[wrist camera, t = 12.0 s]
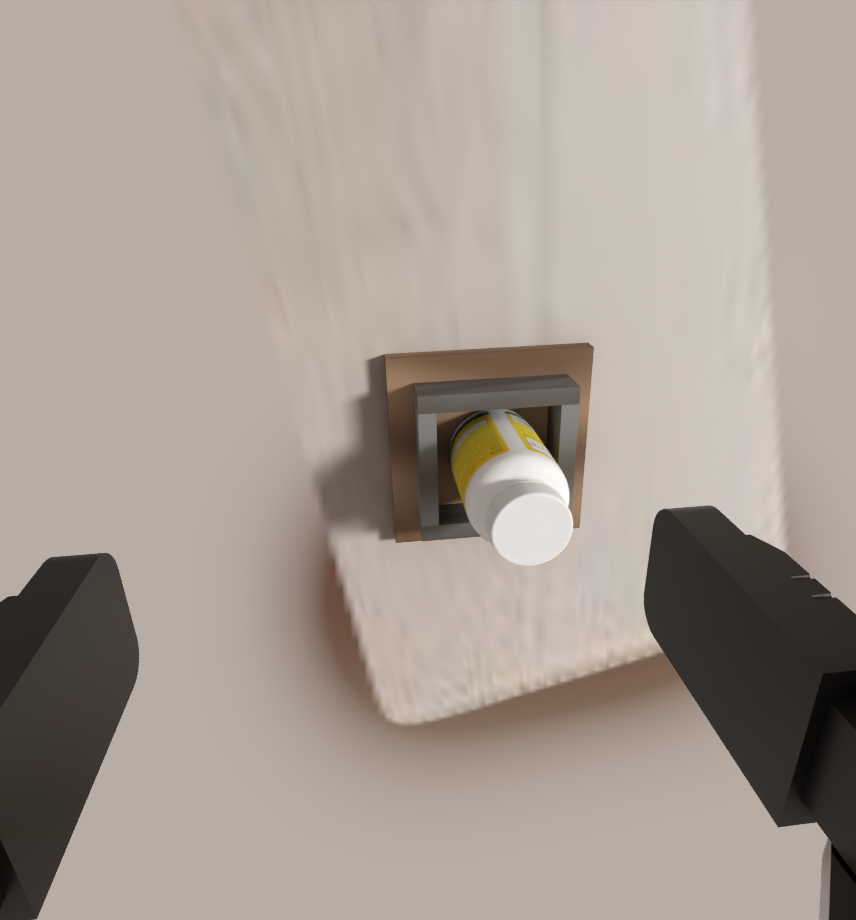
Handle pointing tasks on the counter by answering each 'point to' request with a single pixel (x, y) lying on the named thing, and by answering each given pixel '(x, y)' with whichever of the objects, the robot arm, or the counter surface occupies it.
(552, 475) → the supplement bottle
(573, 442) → the socket base
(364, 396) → the counter surface
